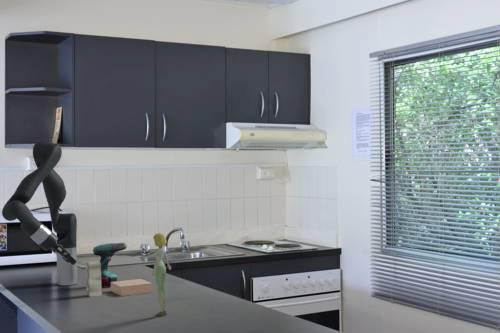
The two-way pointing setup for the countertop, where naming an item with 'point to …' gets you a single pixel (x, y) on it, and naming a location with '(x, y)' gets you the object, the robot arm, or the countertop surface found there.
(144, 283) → the base block
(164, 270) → the sculpture
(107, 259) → the power drill
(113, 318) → the countertop surface
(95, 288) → the post
